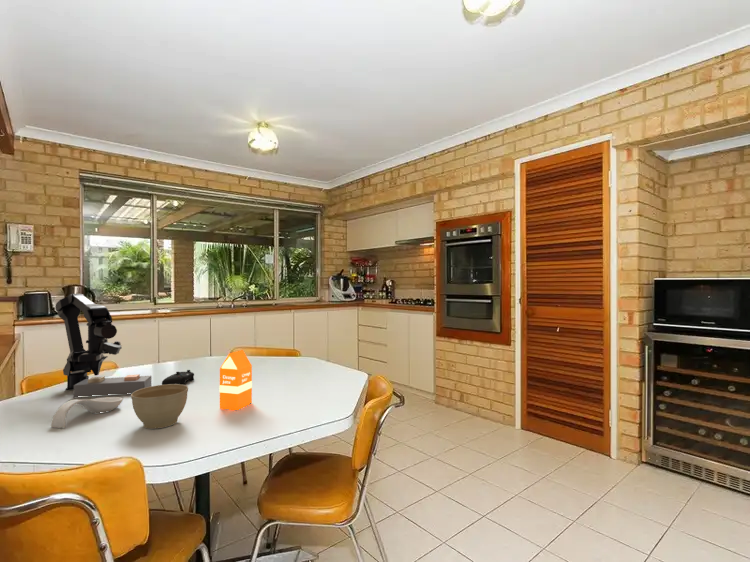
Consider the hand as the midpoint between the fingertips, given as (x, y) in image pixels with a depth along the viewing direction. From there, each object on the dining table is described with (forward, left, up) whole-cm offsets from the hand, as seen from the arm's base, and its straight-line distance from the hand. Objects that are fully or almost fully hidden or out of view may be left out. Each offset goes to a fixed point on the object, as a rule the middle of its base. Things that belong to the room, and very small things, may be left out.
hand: (96, 375), depth 163 cm
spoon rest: (+9, -31, -8) cm, 33 cm away
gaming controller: (+29, +11, -8) cm, 32 cm away
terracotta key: (+13, 0, -5) cm, 14 cm away
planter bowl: (+34, -46, -8) cm, 58 cm away
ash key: (0, 0, -5) cm, 5 cm away
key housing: (+6, 0, -8) cm, 10 cm away
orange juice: (+56, -33, -8) cm, 66 cm away
